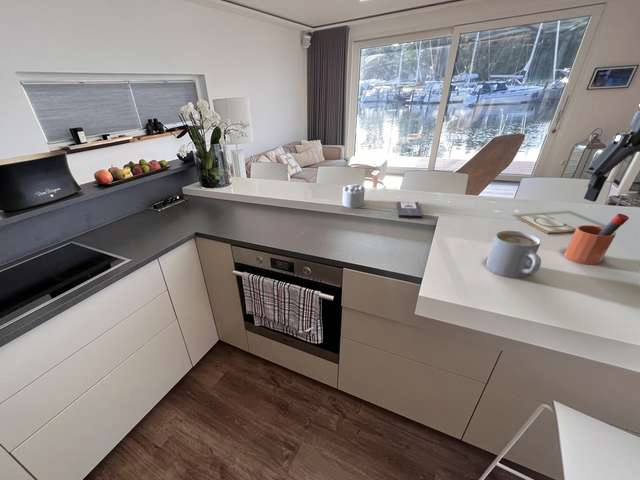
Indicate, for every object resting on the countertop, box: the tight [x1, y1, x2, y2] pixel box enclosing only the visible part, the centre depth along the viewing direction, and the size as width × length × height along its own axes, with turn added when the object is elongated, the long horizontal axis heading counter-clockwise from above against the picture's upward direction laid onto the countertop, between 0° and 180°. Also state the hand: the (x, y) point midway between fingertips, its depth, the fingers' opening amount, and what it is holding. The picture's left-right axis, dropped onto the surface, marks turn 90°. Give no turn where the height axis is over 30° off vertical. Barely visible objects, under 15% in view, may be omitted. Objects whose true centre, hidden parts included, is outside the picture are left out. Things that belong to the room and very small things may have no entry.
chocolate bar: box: [396, 201, 423, 219], centre depth 129 cm, size 9×1×18 cm
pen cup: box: [563, 224, 617, 266], centre depth 83 cm, size 8×8×9 cm
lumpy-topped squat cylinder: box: [342, 183, 366, 209], centre depth 142 cm, size 10×13×9 cm
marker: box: [598, 213, 630, 236], centre depth 80 cm, size 2×2×14 cm
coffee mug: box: [485, 230, 542, 279], centre depth 80 cm, size 13×10×10 cm
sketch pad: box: [515, 213, 577, 235], centre depth 106 cm, size 20×16×1 cm
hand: (616, 197), depth 77 cm, fingers open, 13 cm apart
